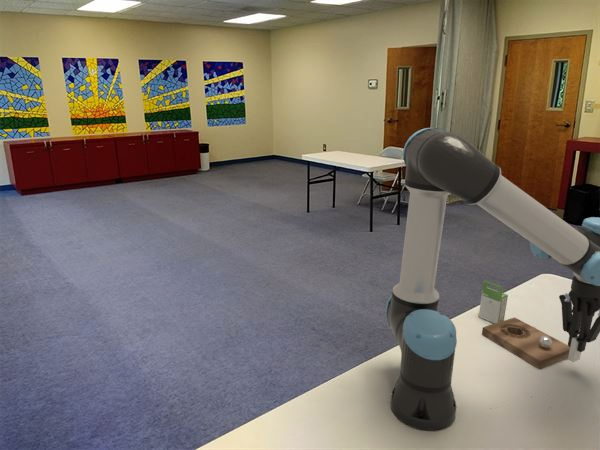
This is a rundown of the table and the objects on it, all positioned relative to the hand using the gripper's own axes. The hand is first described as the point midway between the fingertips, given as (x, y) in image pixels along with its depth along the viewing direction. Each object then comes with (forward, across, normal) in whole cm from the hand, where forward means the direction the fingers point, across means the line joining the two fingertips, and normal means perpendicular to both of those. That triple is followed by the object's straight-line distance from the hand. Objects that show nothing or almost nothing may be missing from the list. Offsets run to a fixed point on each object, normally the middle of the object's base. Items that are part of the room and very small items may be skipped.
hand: (573, 359), depth 124 cm
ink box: (+4, +30, -3) cm, 30 cm away
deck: (+4, +15, 0) cm, 15 cm away
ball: (0, +9, 0) cm, 9 cm away
